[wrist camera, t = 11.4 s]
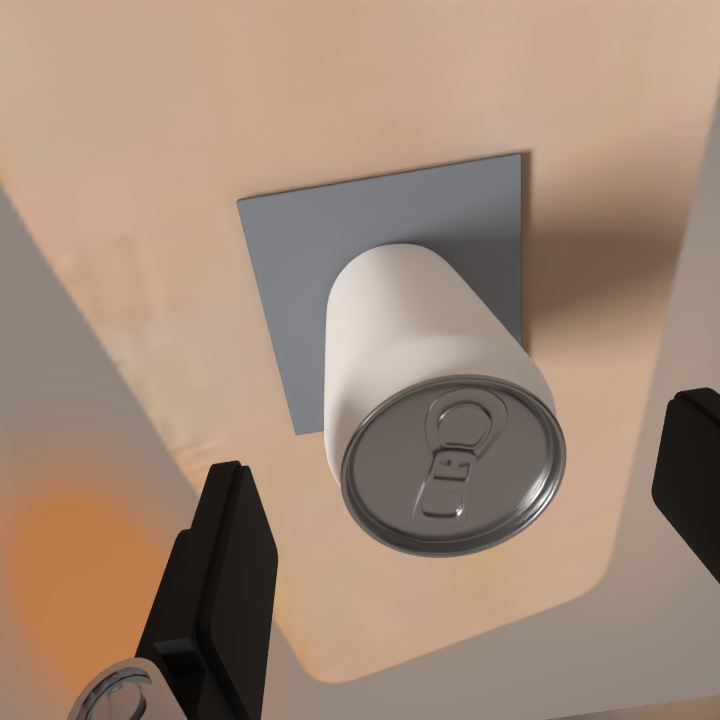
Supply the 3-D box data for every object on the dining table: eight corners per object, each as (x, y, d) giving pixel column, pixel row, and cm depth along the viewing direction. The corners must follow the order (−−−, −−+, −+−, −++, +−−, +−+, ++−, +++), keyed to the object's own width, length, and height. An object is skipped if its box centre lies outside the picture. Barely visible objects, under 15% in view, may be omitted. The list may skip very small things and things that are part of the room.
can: (478, 250, 22) (626, 375, 11) (446, 377, 24) (538, 576, 14) (335, 230, 21) (340, 342, 10) (318, 363, 24) (308, 562, 13)
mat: (238, 199, 21) (236, 201, 20) (515, 153, 20) (520, 154, 20) (296, 428, 26) (295, 435, 25) (517, 394, 26) (521, 400, 25)
